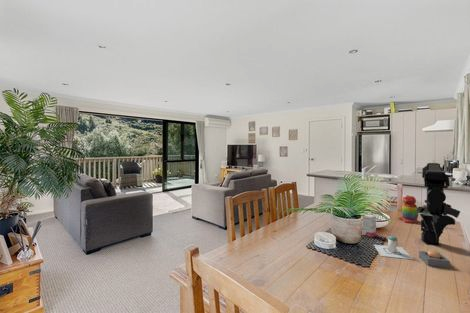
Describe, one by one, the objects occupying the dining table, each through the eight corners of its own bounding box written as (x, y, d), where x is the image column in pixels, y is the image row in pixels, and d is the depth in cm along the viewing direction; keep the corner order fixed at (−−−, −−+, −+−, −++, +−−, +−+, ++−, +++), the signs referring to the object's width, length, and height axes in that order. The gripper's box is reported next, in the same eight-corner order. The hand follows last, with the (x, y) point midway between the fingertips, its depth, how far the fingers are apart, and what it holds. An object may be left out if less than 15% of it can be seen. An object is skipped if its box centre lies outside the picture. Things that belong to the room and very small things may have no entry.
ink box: (376, 236, 136) (376, 216, 135) (372, 238, 133) (372, 217, 132) (361, 231, 143) (361, 212, 143) (357, 233, 140) (357, 214, 140)
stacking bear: (396, 218, 168) (397, 194, 167) (411, 218, 167) (412, 194, 166) (406, 223, 157) (406, 197, 156) (422, 223, 156) (423, 197, 155)
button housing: (439, 259, 107) (439, 252, 107) (449, 267, 100) (450, 261, 100) (418, 257, 110) (418, 250, 109) (427, 265, 102) (427, 258, 102)
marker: (395, 250, 116) (395, 236, 116) (397, 253, 113) (398, 239, 113) (386, 249, 117) (387, 235, 117) (389, 252, 114) (389, 238, 114)
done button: (436, 255, 106) (436, 250, 106) (442, 260, 102) (442, 255, 102) (425, 254, 107) (425, 249, 107) (430, 259, 103) (430, 253, 103)
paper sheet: (401, 247, 120) (401, 247, 120) (413, 259, 107) (413, 258, 107) (373, 245, 123) (373, 244, 123) (381, 256, 111) (381, 255, 111)
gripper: (472, 205, 92) (470, 244, 93) (444, 195, 110) (443, 228, 111) (438, 203, 95) (437, 241, 96) (416, 194, 113) (416, 226, 114)
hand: (434, 233), depth 104 cm, fingers open, 7 cm apart
